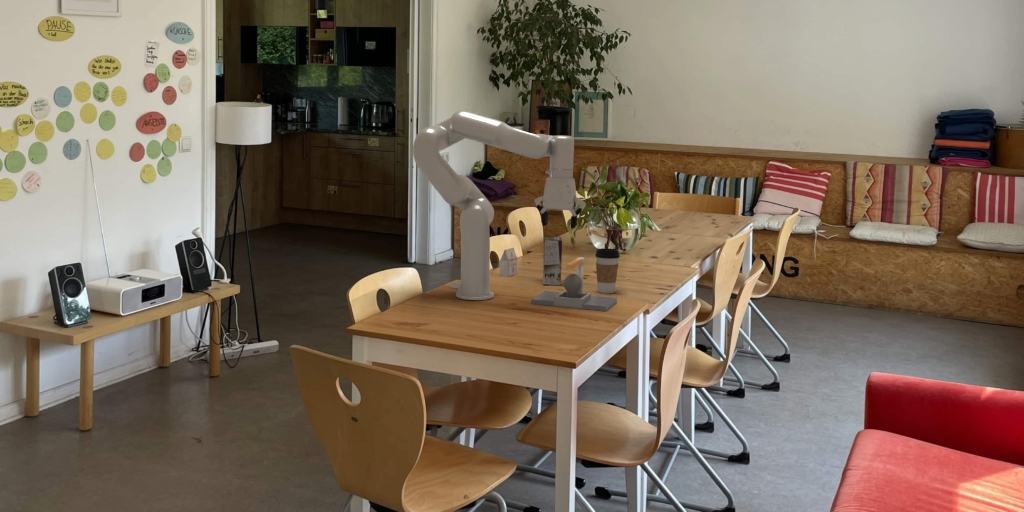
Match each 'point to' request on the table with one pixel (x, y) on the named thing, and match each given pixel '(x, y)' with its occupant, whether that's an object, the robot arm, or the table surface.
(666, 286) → the table surface
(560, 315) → the table surface
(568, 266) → the long wooden bar
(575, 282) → the light bulb
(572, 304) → the plate with square opening
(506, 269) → the red and white carton
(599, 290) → the coffee cup
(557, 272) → the coffee box
